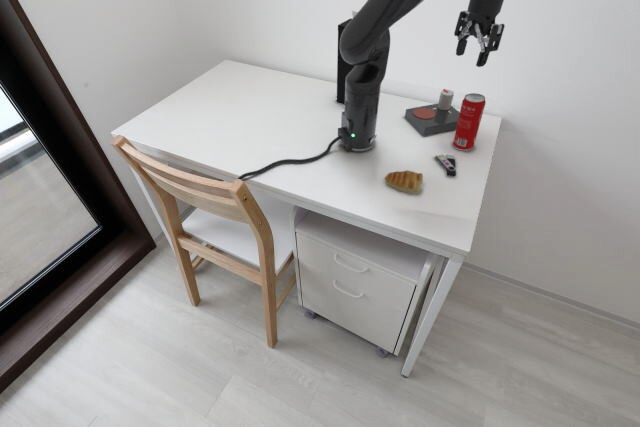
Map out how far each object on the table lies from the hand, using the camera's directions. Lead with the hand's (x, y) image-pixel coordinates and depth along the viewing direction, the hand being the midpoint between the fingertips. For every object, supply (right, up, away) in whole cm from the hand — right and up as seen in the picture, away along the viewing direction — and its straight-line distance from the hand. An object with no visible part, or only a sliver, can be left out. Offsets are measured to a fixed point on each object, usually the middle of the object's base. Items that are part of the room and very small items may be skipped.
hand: (469, 60), depth 91 cm
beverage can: (+1, -22, +8) cm, 23 cm away
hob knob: (0, -7, +18) cm, 20 cm away
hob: (-4, -12, +17) cm, 22 cm away
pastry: (-18, -34, -4) cm, 39 cm away
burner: (-7, -10, +16) cm, 20 cm away
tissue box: (-29, -1, +29) cm, 41 cm away
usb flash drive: (-6, -28, +1) cm, 29 cm away
